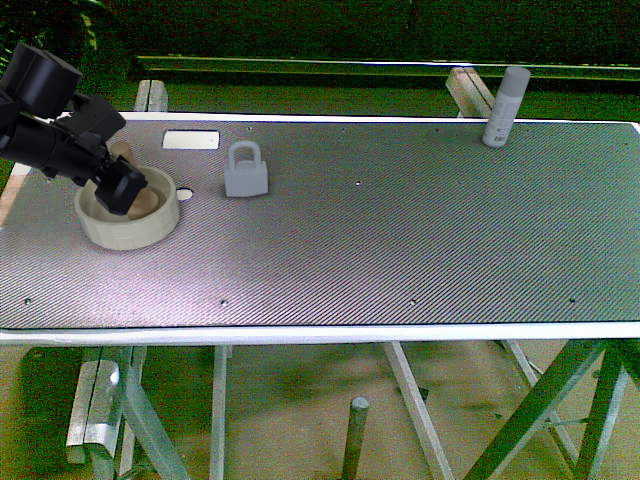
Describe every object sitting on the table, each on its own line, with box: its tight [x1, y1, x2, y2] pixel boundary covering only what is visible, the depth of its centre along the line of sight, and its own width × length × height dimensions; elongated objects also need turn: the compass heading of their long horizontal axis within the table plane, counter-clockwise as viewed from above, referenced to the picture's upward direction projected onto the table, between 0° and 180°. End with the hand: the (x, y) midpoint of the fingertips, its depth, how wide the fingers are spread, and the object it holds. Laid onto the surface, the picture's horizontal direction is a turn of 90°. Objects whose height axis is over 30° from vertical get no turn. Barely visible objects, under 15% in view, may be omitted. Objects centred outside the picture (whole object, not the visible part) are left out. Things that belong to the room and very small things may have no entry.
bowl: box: [73, 164, 181, 251], centre depth 74 cm, size 14×14×6 cm
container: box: [481, 65, 532, 149], centre depth 93 cm, size 5×5×15 cm
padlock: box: [222, 139, 269, 198], centre depth 79 cm, size 7×4×10 cm, turn 102°
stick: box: [109, 140, 161, 221], centre depth 70 cm, size 5×5×13 cm
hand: (141, 180), depth 71 cm, fingers closed on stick, 2 cm apart
